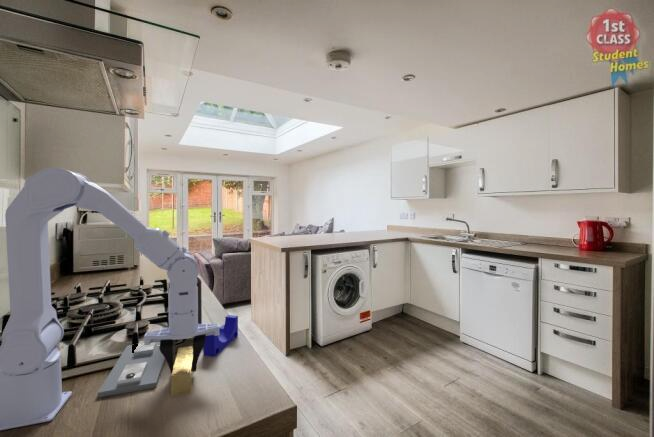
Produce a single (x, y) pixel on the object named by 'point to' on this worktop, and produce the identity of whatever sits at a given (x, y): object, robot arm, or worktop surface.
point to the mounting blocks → (136, 365)
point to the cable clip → (221, 337)
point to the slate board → (127, 358)
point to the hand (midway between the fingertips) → (184, 370)
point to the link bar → (182, 372)
